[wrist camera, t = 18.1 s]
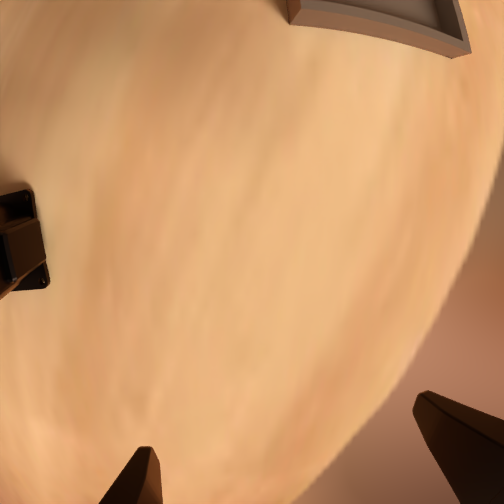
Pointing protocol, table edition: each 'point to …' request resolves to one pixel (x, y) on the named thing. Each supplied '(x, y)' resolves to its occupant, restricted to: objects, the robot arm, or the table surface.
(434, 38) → the tray
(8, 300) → the table surface
